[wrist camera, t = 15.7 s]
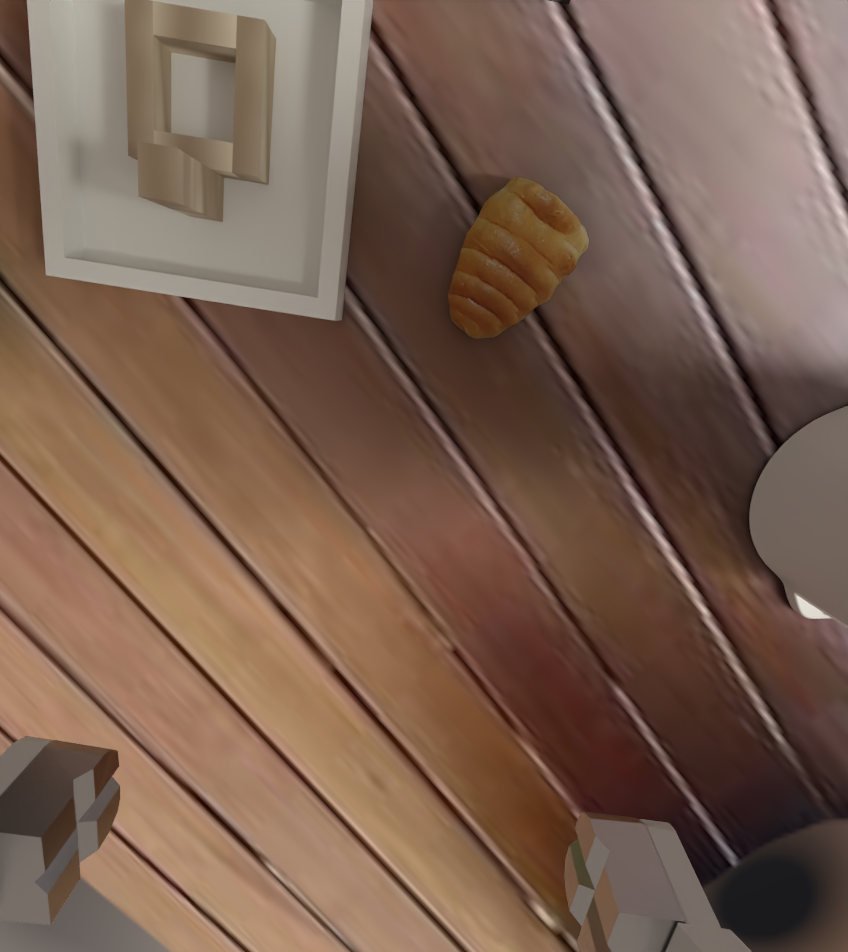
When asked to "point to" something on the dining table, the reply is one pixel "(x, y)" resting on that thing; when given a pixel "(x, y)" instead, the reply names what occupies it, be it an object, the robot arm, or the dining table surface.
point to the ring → (149, 104)
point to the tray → (212, 117)
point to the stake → (563, 0)
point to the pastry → (513, 258)
